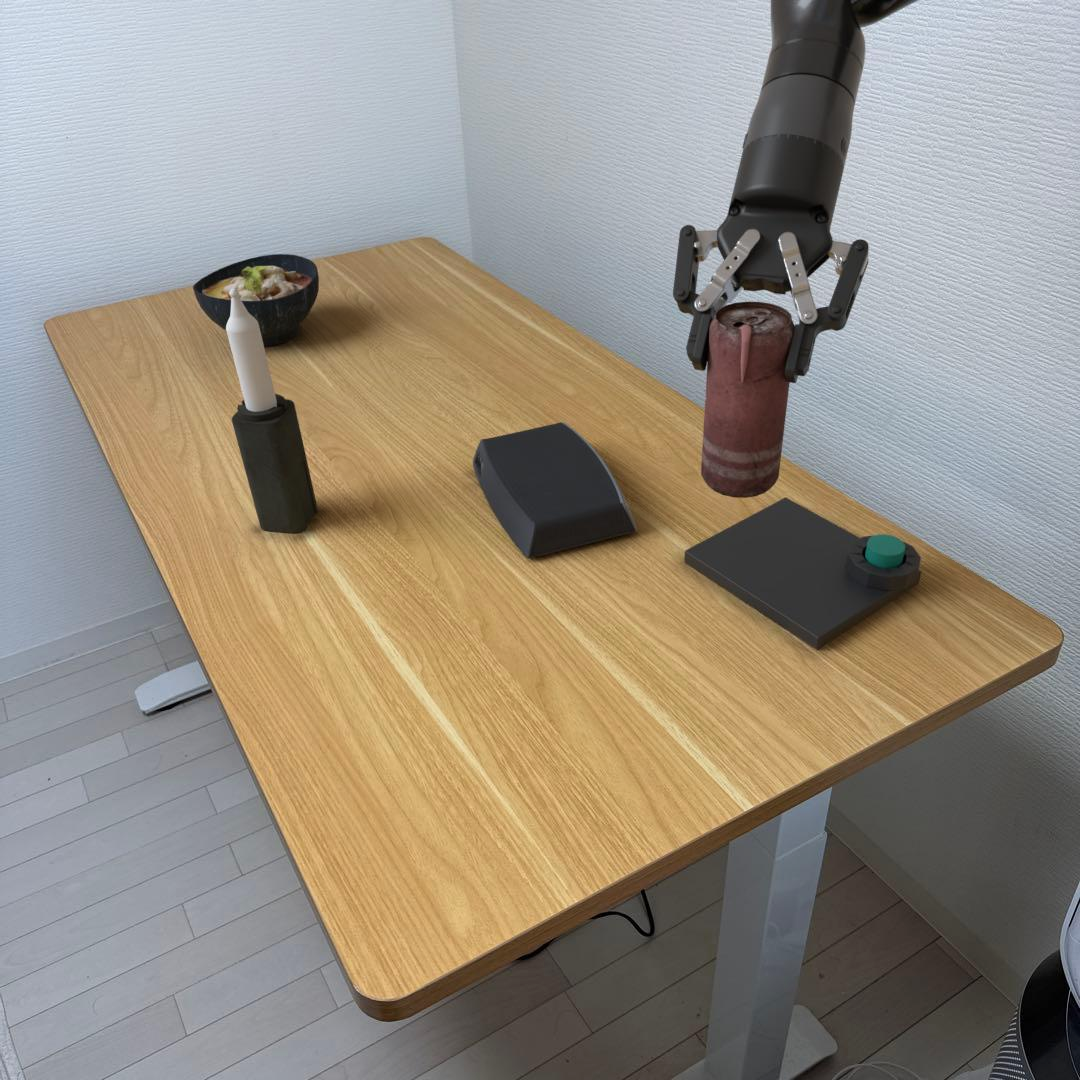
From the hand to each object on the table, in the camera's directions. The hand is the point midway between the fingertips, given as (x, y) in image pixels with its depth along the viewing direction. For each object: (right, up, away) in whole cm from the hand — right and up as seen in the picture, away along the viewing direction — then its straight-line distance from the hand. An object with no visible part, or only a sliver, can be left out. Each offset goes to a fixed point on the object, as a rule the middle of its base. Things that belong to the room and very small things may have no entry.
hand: (743, 372), depth 70 cm
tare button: (+16, -14, +16) cm, 27 cm away
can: (+1, -7, +7) cm, 11 cm away
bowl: (-54, +17, +70) cm, 90 cm away
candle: (-41, -10, +31) cm, 52 cm away
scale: (+9, -15, +20) cm, 26 cm away
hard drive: (-14, -8, +32) cm, 35 cm away
